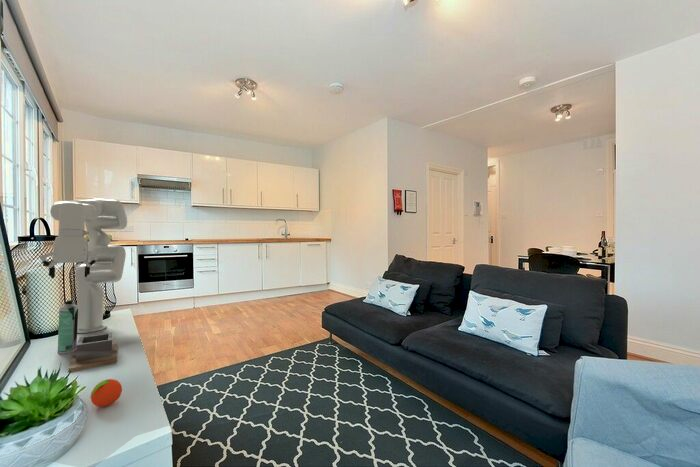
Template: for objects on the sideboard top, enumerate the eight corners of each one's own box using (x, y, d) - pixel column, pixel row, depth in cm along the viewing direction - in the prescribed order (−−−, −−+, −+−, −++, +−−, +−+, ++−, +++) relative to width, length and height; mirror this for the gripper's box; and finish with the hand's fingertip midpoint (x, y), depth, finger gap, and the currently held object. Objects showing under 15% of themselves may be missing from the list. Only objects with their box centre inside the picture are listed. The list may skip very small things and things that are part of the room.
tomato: (100, 416, 80) (101, 389, 80) (79, 412, 81) (80, 386, 81) (127, 400, 88) (128, 375, 88) (107, 397, 89) (108, 372, 89)
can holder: (74, 352, 119) (75, 333, 119) (116, 345, 126) (117, 328, 126) (68, 372, 103) (68, 350, 103) (116, 363, 111) (117, 343, 111)
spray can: (80, 348, 122) (82, 299, 122) (66, 354, 116) (68, 302, 116) (68, 347, 122) (70, 298, 122) (53, 353, 117) (55, 301, 117)
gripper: (100, 234, 128) (98, 275, 127) (42, 233, 117) (40, 277, 117) (99, 234, 122) (97, 277, 121) (38, 233, 111) (36, 279, 111)
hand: (69, 277), depth 119 cm, fingers open, 9 cm apart
